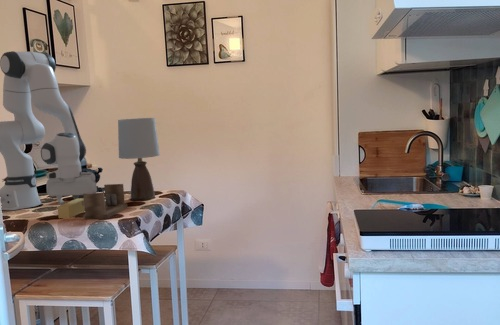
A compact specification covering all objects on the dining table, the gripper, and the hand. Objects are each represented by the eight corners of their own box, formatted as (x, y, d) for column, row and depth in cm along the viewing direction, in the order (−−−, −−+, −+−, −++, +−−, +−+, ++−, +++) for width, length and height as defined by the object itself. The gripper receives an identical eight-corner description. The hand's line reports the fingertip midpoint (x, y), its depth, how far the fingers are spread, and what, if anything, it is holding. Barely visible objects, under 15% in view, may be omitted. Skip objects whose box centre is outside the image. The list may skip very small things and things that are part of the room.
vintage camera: (101, 200, 220) (99, 158, 218) (71, 199, 223) (69, 158, 221) (110, 196, 230) (109, 156, 227) (82, 195, 232) (80, 156, 230)
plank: (58, 219, 184) (57, 206, 184) (78, 209, 200) (76, 198, 200) (69, 218, 184) (68, 206, 183) (88, 209, 200) (86, 198, 199)
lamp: (153, 201, 208) (147, 118, 204) (115, 201, 212) (108, 120, 208) (168, 193, 226) (163, 117, 222) (133, 193, 230) (127, 118, 226)
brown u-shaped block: (83, 219, 181) (80, 193, 180) (105, 207, 201) (103, 184, 200) (107, 218, 180) (105, 193, 178) (127, 206, 200) (125, 183, 199)
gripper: (97, 170, 192) (101, 203, 193) (51, 172, 194) (54, 205, 196) (91, 172, 185) (94, 206, 187) (42, 174, 188) (46, 208, 189)
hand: (73, 205), depth 191 cm, fingers open, 8 cm apart
